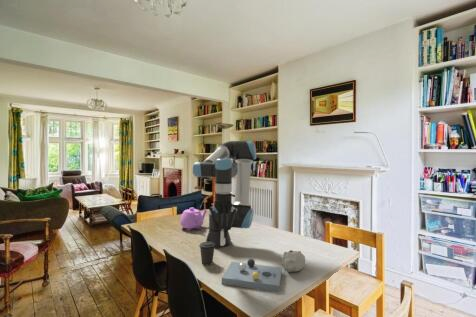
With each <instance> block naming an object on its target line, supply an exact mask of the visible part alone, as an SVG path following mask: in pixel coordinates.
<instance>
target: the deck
mask: <svg viewBox="0 0 476 317" xmlns="http://www.w3.org/2000/svg"><path fill="white" fill-rule="evenodd" d="M240 263H241V262H240V261H239V262H238V261H231V262H230V264H229V266H228V267H227V268H226V271H225V272H224V273H223V275H222V277H221V285H229V286H236V287H241V288H248V289H257V290H263V291H269V292H270V291H271V292H278V293H279V292H280V289H281V281H282V274H283V268H282V267H281V266H280V267H279V266H271V265H263V264H256V263H255V264H254V266H252V267H250V266H248V264H247V262H245V263H244V262H243V263H244V264H245V265H246V270H245V271H243V272H242V271H240V270H239V269H238V266H239V264H240ZM253 272H258V274H259V278H258V279H257V280H254V279H253V278H252V274H253Z"/></svg>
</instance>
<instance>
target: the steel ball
mask: <svg viewBox="0 0 476 317" xmlns="http://www.w3.org/2000/svg"><path fill="white" fill-rule="evenodd" d="M239 263H240V264H239V266H238V269H239V270H240V271H242V272H243V271H245V270H246V265H245V264H244V262H239Z"/></svg>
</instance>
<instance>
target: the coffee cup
mask: <svg viewBox="0 0 476 317" xmlns="http://www.w3.org/2000/svg"><path fill="white" fill-rule="evenodd" d="M198 246H199V249H200V256H201V257H200V258H201V264H202V265H204V266H210V265H213V262H214V253H215V248H216V247H215V243H213V242H206V241H204V242H203V241H202V242H200V243H199V245H198Z"/></svg>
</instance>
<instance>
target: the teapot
mask: <svg viewBox="0 0 476 317" xmlns="http://www.w3.org/2000/svg"><path fill="white" fill-rule="evenodd" d="M207 210H208V209H203V211H202V212H201V211H200V209H198V208H197V209H196V208H195V207H189V209H188V208H187V209H185V210H183V212H182V214H181V216H180V222H179V223H180V225H181V227H182V228H183V229H186V231H187V232H190V231H192V229H196V230H201V227H202V226H203V224H204V220H205V217H206V214H207Z"/></svg>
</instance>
